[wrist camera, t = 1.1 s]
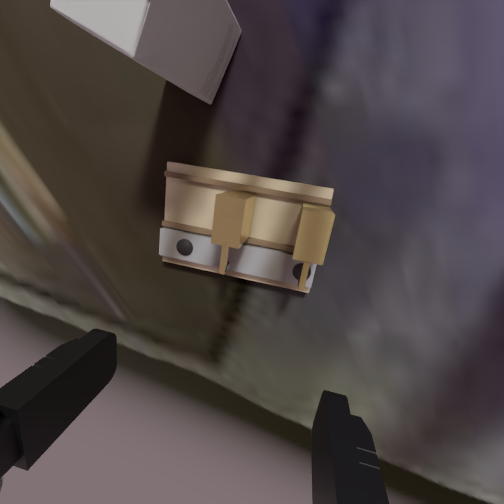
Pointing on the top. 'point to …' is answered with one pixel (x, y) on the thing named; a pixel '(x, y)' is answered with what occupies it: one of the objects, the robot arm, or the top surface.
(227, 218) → the slider leg
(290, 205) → the gauge board
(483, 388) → the top surface
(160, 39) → the skincare box
